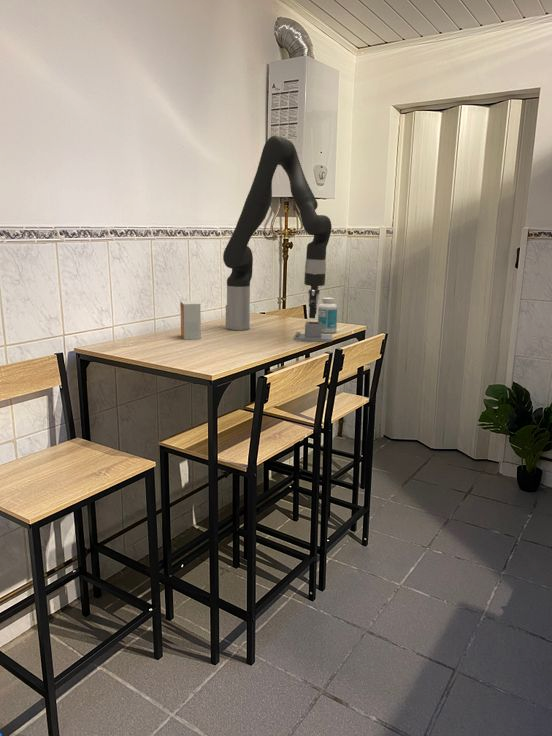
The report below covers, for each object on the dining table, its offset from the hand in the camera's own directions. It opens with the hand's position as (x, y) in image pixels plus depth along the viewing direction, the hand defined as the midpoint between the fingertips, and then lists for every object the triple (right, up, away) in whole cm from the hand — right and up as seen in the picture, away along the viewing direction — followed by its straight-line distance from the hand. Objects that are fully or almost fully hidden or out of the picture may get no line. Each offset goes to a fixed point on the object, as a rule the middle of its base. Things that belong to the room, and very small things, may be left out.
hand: (312, 316), depth 213 cm
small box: (-45, -8, +1) cm, 46 cm away
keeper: (0, -8, +2) cm, 9 cm away
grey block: (0, -7, +2) cm, 8 cm away
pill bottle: (+7, -5, +17) cm, 19 cm away
